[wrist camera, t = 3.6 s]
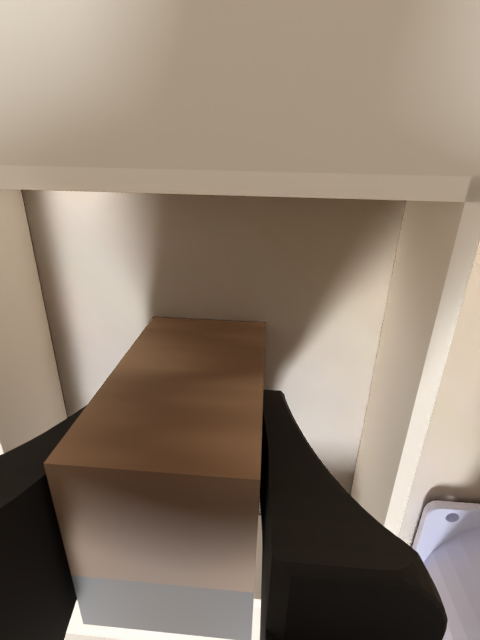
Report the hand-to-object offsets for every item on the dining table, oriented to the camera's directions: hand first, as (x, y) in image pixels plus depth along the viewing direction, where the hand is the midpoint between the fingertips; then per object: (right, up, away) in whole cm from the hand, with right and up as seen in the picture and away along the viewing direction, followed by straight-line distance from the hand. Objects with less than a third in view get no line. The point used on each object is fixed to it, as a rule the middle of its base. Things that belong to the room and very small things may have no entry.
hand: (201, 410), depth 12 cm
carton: (0, +1, +2) cm, 2 cm away
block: (0, +1, +2) cm, 2 cm away
